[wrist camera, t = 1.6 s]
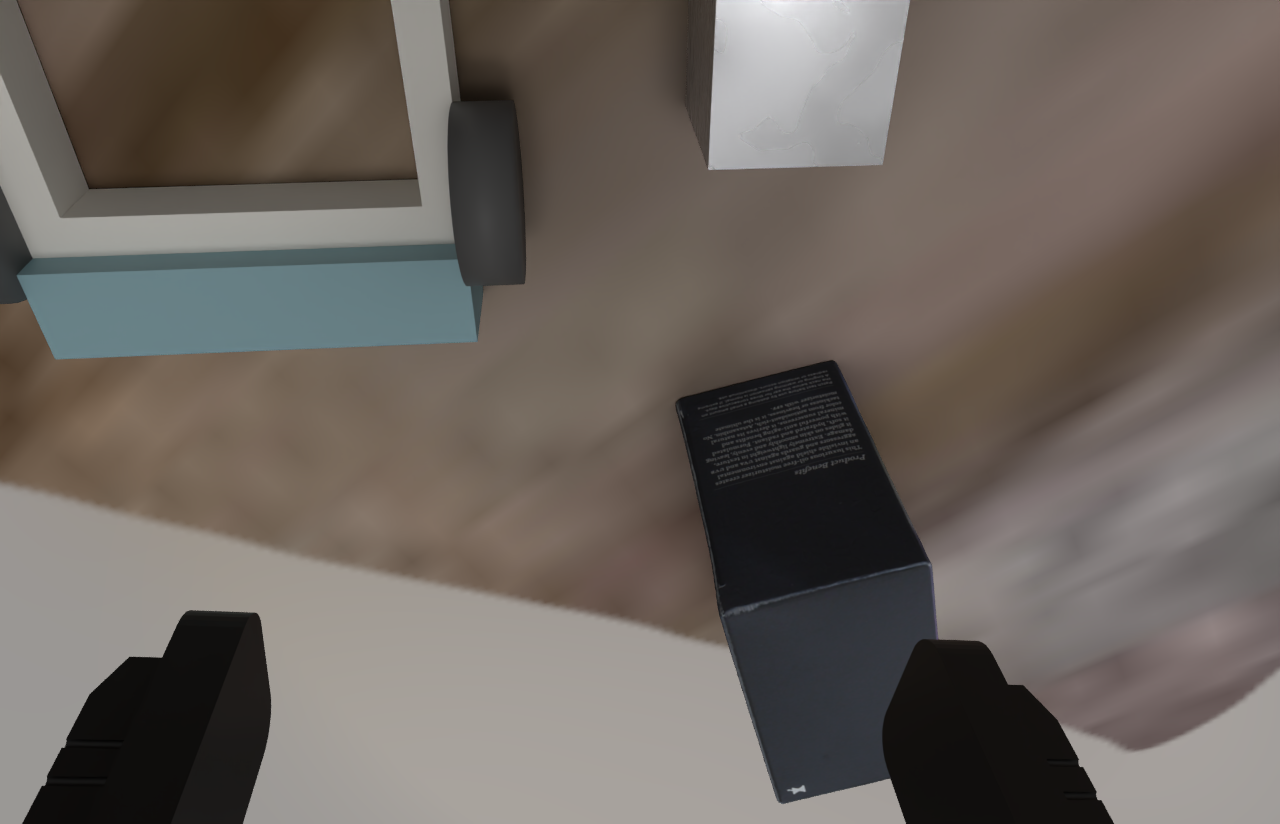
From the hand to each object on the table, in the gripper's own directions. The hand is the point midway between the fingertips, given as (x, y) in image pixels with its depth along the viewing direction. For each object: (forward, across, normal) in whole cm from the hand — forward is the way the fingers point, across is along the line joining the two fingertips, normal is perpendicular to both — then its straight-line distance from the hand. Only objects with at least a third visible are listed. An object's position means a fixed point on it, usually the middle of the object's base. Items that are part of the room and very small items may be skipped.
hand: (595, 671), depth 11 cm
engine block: (+20, -5, -5) cm, 21 cm away
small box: (+21, -10, +12) cm, 26 cm away
